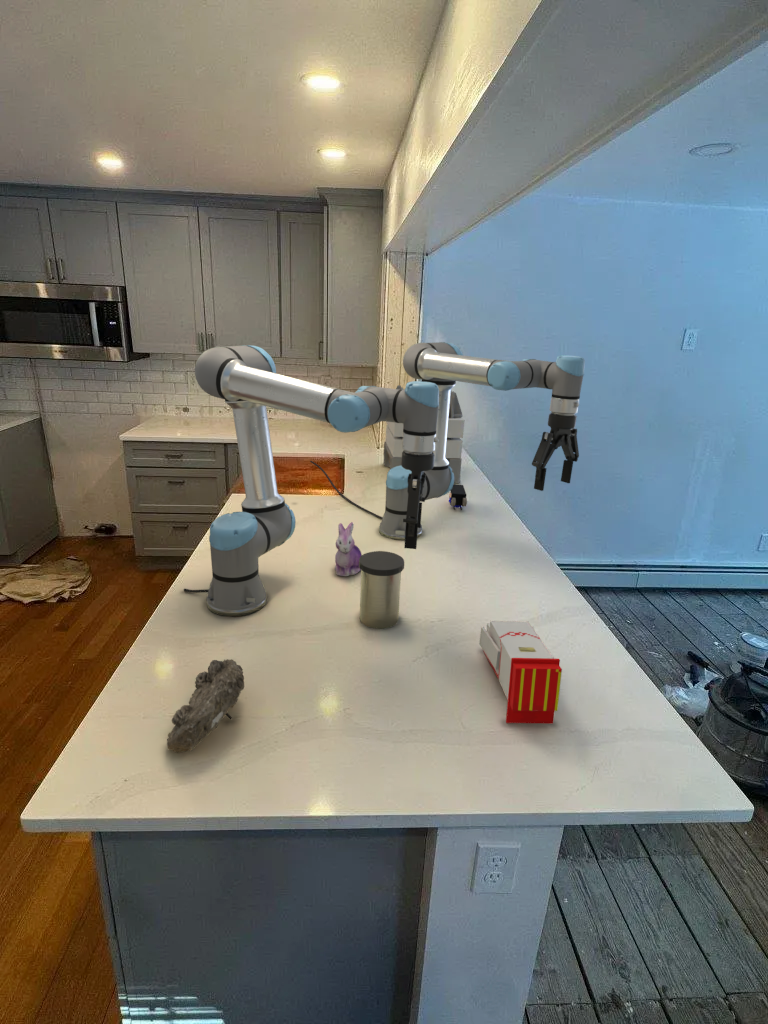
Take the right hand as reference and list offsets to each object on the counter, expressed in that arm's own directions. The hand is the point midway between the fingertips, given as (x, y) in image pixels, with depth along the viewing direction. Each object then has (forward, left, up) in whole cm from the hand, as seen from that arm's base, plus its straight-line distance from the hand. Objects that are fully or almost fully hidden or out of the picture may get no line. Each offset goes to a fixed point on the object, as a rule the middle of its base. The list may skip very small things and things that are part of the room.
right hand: (552, 485), depth 166 cm
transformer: (-101, +46, -28) cm, 115 cm away
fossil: (0, -107, -28) cm, 110 cm away
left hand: (-3, -52, -5) cm, 53 cm away
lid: (-8, -58, -12) cm, 60 cm away
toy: (+29, -51, -28) cm, 65 cm away
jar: (-8, -58, -28) cm, 65 cm away
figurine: (-35, -47, -28) cm, 65 cm away
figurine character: (-57, +25, -28) cm, 68 cm away
